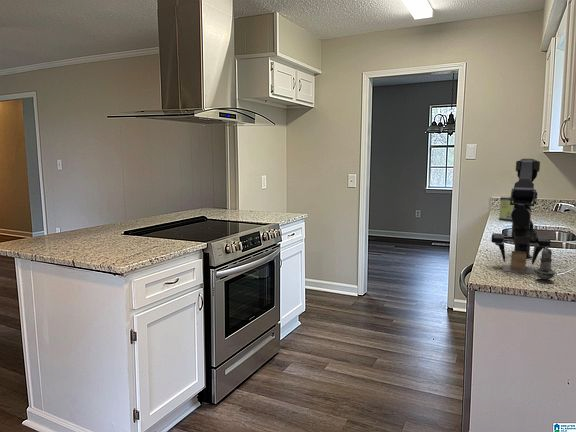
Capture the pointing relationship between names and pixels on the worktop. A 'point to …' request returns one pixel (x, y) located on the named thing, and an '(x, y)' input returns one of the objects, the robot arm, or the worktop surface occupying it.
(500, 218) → the protein box
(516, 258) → the walnut block
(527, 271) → the slate coaster
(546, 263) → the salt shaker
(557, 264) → the worktop surface
